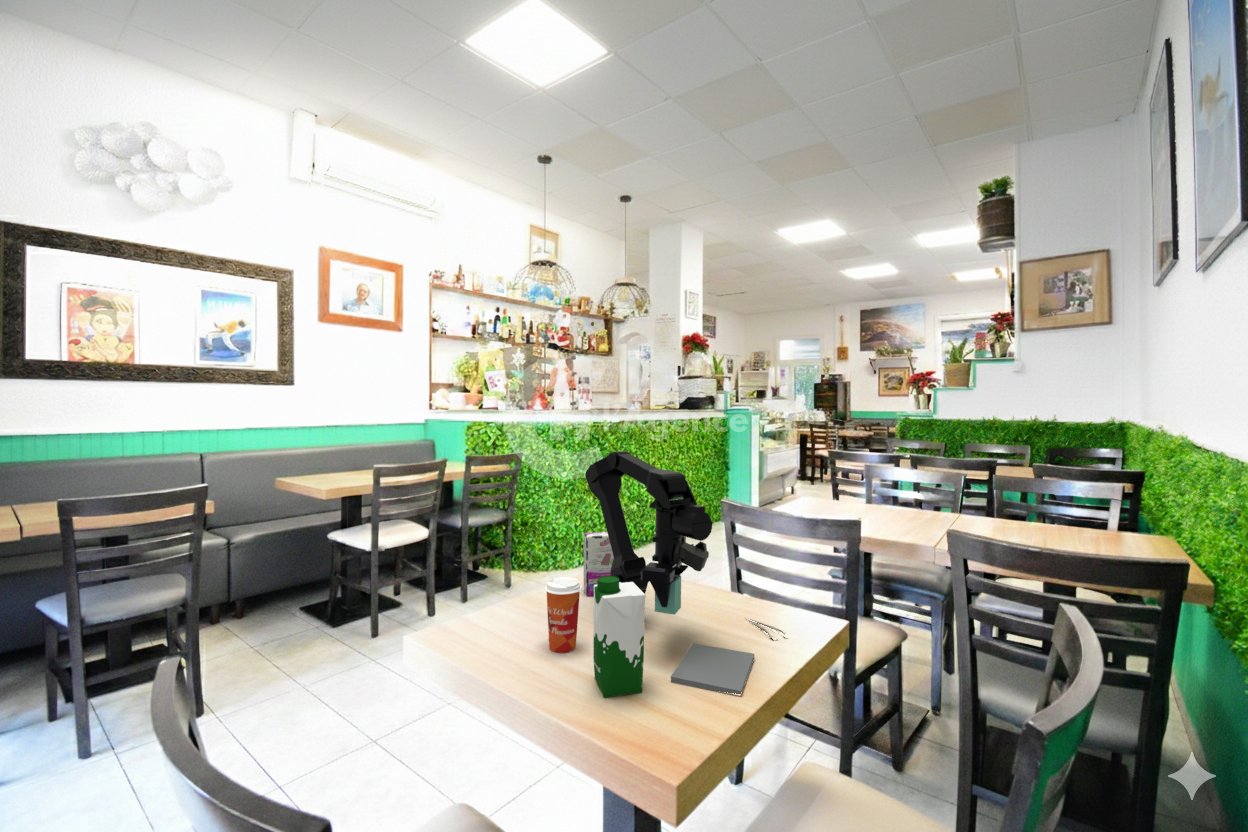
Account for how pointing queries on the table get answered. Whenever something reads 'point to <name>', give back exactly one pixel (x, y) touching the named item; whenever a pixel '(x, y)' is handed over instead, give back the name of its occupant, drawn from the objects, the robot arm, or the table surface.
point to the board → (713, 668)
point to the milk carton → (618, 636)
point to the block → (671, 598)
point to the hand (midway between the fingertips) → (667, 603)
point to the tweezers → (765, 629)
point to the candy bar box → (596, 559)
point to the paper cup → (562, 613)
